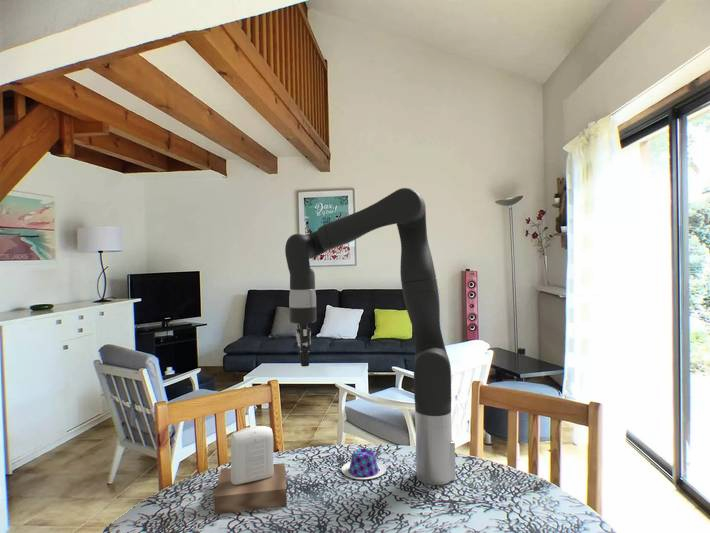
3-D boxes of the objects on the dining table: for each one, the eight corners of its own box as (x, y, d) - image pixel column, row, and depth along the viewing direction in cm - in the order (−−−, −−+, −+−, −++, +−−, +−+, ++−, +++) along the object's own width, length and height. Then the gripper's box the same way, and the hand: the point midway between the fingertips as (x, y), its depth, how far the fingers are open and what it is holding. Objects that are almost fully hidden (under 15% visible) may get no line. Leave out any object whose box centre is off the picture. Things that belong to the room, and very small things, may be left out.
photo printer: (270, 470, 112) (269, 421, 112) (276, 477, 109) (275, 426, 109) (229, 480, 107) (228, 428, 107) (233, 487, 104) (232, 434, 104)
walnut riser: (284, 478, 116) (284, 463, 116) (286, 506, 103) (286, 488, 103) (221, 485, 113) (220, 469, 113) (214, 514, 100) (214, 496, 100)
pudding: (355, 458, 128) (354, 440, 128) (393, 467, 123) (393, 447, 123) (333, 476, 118) (332, 456, 118) (373, 486, 112) (373, 465, 112)
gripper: (318, 306, 119) (319, 367, 119) (313, 303, 133) (314, 357, 133) (290, 307, 118) (291, 369, 118) (288, 304, 132) (289, 358, 132)
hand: (303, 363), depth 126 cm, fingers open, 8 cm apart
